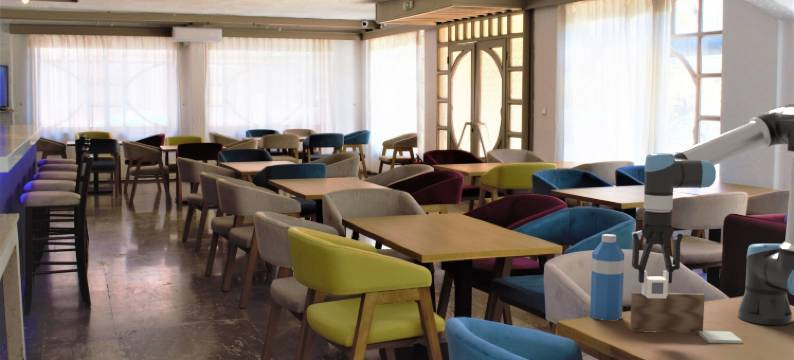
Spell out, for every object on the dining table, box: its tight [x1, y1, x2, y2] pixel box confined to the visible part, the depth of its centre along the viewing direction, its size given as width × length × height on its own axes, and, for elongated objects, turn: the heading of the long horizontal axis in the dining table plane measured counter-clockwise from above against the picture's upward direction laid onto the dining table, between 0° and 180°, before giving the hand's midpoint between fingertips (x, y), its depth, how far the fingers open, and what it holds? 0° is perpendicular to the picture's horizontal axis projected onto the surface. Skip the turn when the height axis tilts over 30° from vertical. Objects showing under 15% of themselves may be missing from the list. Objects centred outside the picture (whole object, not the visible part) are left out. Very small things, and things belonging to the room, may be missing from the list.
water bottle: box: [589, 233, 625, 321], centre depth 263 cm, size 9×9×25 cm
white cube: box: [646, 275, 667, 298], centre depth 239 cm, size 5×5×5 cm
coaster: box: [698, 330, 743, 344], centre depth 242 cm, size 9×9×1 cm
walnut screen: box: [629, 291, 705, 335], centre depth 248 cm, size 20×4×11 cm, turn 88°
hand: (654, 294), depth 239 cm, fingers closed on white cube, 5 cm apart
